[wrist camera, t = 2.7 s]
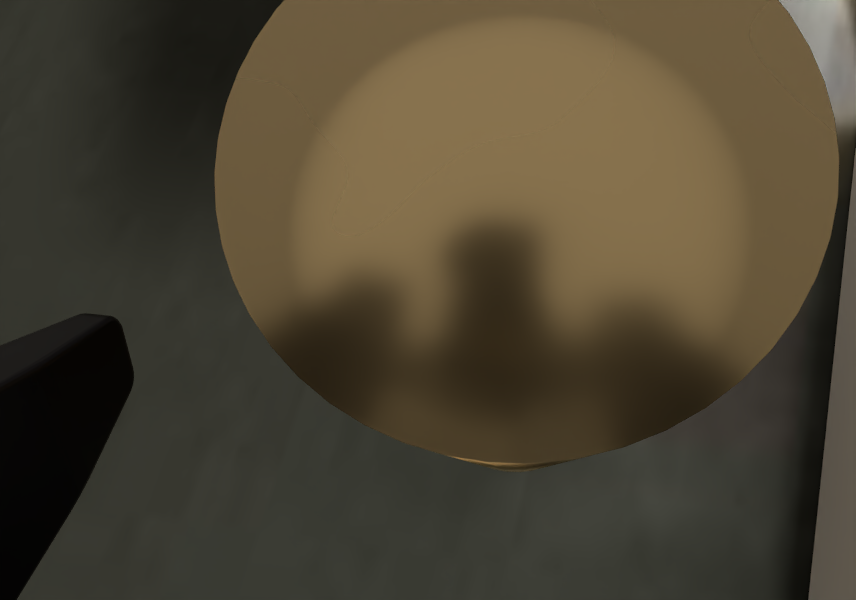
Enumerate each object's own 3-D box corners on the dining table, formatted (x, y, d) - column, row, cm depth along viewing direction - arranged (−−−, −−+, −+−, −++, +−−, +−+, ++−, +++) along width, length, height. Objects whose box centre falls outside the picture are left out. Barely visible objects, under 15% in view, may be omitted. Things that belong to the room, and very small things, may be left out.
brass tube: (612, 321, 17) (868, -82, 5) (583, 489, 16) (800, 537, 4) (449, 291, 18) (300, -136, 5) (414, 451, 17) (140, 386, 5)
